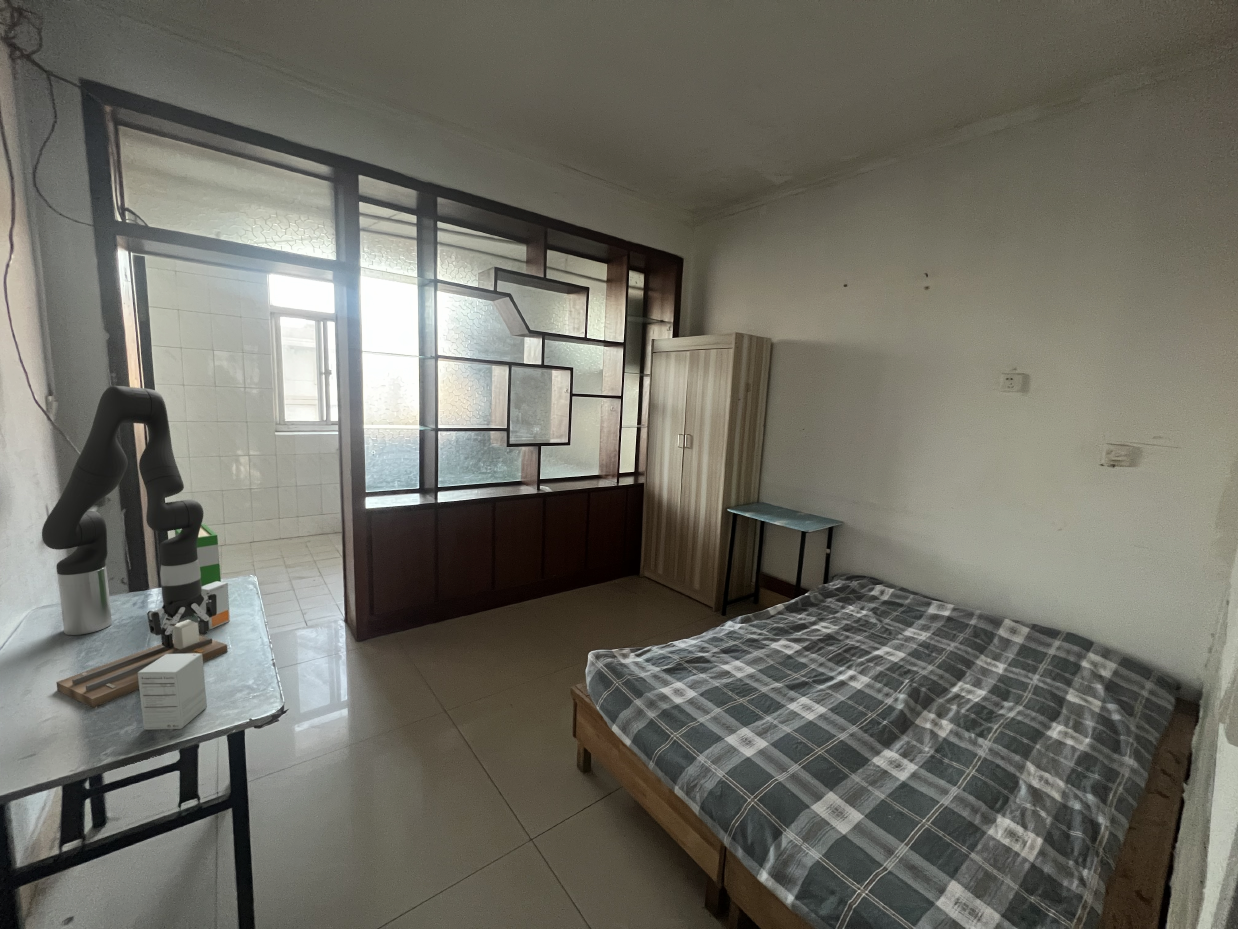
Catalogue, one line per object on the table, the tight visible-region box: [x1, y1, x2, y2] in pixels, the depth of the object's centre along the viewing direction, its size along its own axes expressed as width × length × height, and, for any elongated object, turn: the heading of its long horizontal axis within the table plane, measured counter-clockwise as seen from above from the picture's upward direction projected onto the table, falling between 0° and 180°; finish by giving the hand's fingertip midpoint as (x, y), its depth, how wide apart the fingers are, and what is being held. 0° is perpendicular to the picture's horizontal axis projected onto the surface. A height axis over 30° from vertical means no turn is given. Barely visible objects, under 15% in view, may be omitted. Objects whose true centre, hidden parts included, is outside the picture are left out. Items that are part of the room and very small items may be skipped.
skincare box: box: [197, 581, 231, 630], centre depth 143 cm, size 6×4×12 cm
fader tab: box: [172, 619, 200, 649], centre depth 127 cm, size 4×4×6 cm
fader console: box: [56, 634, 228, 708], centre depth 120 cm, size 15×26×3 cm, turn 158°
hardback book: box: [174, 523, 222, 618], centre depth 155 cm, size 18×7×24 cm, turn 49°
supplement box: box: [138, 653, 208, 731], centre depth 102 cm, size 7×7×13 cm
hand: (186, 640), depth 127 cm, fingers open, 7 cm apart
